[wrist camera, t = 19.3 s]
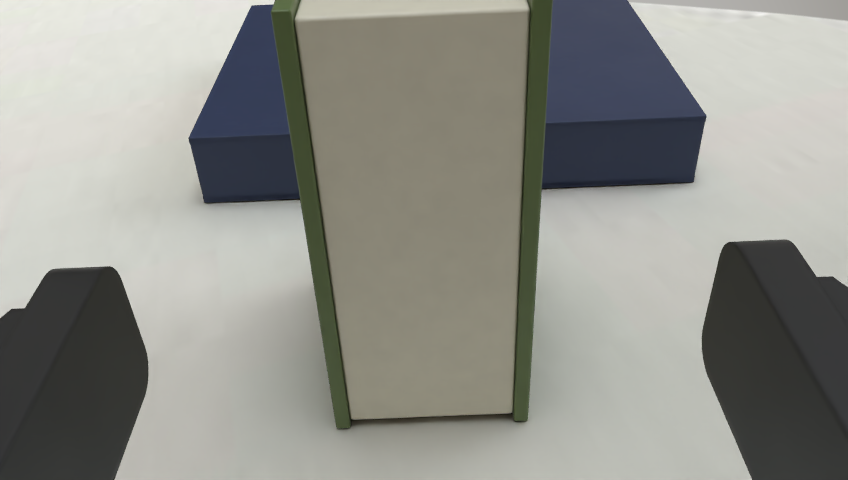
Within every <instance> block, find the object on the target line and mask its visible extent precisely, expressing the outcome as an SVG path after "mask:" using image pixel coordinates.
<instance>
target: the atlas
mask: <svg viewBox="0 0 848 480" xmlns="http://www.w3.org/2000/svg"><path fill="white" fill-rule="evenodd" d="M272 7H273V5H255V6H251V8H250V10H249V12H248V14H247V16H246V18H245V21H244V23H243V25H242V27H241V29H240V31H239V33H238V35H237V37H236V39H235V42H234V44H233V46H232V48H231V50H230V52H229V54H228V56H227V58H226V61H225V63H224V65H223V67H222V69H221V71H220V73H219V75H218V77H217V79H216V82H215V84H214V86H213V88H212V90H211V92H210V94H209V96H208V98H207V100H206V103H205V105H204V107H203V109H202V111H201V113H200V115H199V117H198V119H197V121H196V124H195V126H194V128H193V130H192V132H191V134H190V136H189V142H190V145H191V149H192V153H193V157H194V161H195V165H196V169H197V173H198V177H199V181H200V186H201V190H202V194H203V199H204V202H205V203H207V202H231V201H255V200H278V199H300V195H299V188H298V182H297V176H296V170H295V163H294V157H293V151H292V144H291V138H290V132H289V125H288V119H287V113H286V106H285V100H284V94H283V87H282V81H281V75H280V69H279V62H278V56H277V50H276V43H275V37H274V31H273V24H272V18H271V10H272ZM705 121H706V114H705V113H704V112H703V110H702V109H701V107H700V106H699V104H698V103H697V101H696V100H695V98H694V97H693V96H692V94H691V93H690V91H689V90H688V88H687V87H686V85H685V84H684V82H683V81H682V79H681V78H680V77H679V75H678V74H677V72H676V71H675V69H674V68H673V66H672V65H671V63H670V62H669V61H668V59H667V58H666V56H665V55H664V53H663V52H662V50H661V49H660V47H659V46H658V44H657V43H656V42H655V40H654V39H653V37H652V36H651V34H650V33H649V31H648V30H647V28H646V27H645V26H644V24H643V23H642V21H641V20H640V18H639V17H638V15H637V14H636V12H635V11H634V9H633V8H632V7H631V5H630V4H629V2H628V1H627V0H553V7H552V24H551V40H550V57H549V74H548V90H547V107H546V124H545V140H544V157H543V174H542V188H561V187H585V186H608V185H632V184H656V183H679V182H694V177H695V176H694V175H695V170H696V165H697V160H698V154H699V149H700V144H701V139H702V134H703V129H704V124H705Z"/></svg>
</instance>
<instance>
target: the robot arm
mask: <svg viewBox="0 0 848 480" xmlns="http://www.w3.org/2000/svg"><path fill="white" fill-rule="evenodd" d="M702 353H703V360H704V365H705V369H706V372H707V375H708V377H709V380H710V382H711V384H712V387H713V389H714V391H715V394H716V396H717V398H718V401H719V403H720V405H721V408H722V410H723V412H724V415H725V417H726V419H727V422H728V424H729V426H730V429H731V431H732V433H733V436H734V438H735V440H736V443H737V445H738V447H739V450H740V452H741V454H742V457H743V459H744V461H745V464H746V466H747V468H748V471H749V473H750V475H751V478H752V480H848V287H846V286H845V285H844V284H842V283H841V282H839V281H838V280H837V279H835V278H834V277H816V275H815V274H814V272H813V271H812V269H811V268H810V267H809V265H808V264H807V262H806V261H805V259H804V258H803V256H802V255H801V253H800V252H799V250H798V249H797V247H796V246H795V245H794V244H793V243H792V242H791V241H789V240H765V241H741V242H728V243H727V244H725V245H724V247H723V249H722V251H721V253H720V257H719V261H718V265H717V270H716V274H715V278H714V283H713V287H712V291H711V295H710V300H709V304H708V308H707V313H706V317H705V321H704V326H703V331H702ZM147 384H148V358H147V353H146V349H145V346H144V343H143V340H142V337H141V334H140V331H139V329H138V326H137V323H136V320H135V317H134V314H133V311H132V308H131V306H130V303H129V300H128V297H127V294H126V291H125V288H124V286H123V283H122V280H121V278H120V275H119V274H118V272H117V271H116V270H115V269H114V268H113V267H110V266H109V267H86V268H62V269H52V270H50V271H49V272H48V273H47V274H46V275H45V276H44V278H43V279H42V281H41V283H40V284H39V286H38V288H37V289H36V291H35V293H34V294H33V296H32V298H31V299H30V301H29V303H28V304H27V306H26V307H25V308H24V309H11V310H10V311H9V312H7V313H6V314H5V315H4V316H3V317H1V318H0V480H114V479H115V476H116V473H117V471H118V468H119V465H120V463H121V460H122V457H123V454H124V452H125V449H126V446H127V443H128V441H129V438H130V435H131V433H132V430H133V427H134V424H135V422H136V419H137V416H138V413H139V411H140V408H141V405H142V402H143V400H144V397H145V394H146V389H147Z"/></svg>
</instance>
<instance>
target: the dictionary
mask: <svg viewBox="0 0 848 480" xmlns="http://www.w3.org/2000/svg"><path fill="white" fill-rule="evenodd" d="M552 7H553V0H275V2H274V5H273V7H272V10H271V18H272V24H273V31H274V37H275V43H276V50H277V56H278V62H279V69H280V75H281V81H282V87H283V94H284V100H285V106H286V113H287V119H288V125H289V132H290V138H291V144H292V151H293V157H294V163H295V170H296V176H297V182H298V188H299V195H300V201H301V207H302V214H303V220H304V226H305V233H306V239H307V245H308V252H309V258H310V264H311V271H312V277H313V283H314V289H315V296H316V302H317V308H318V315H319V321H320V327H321V334H322V340H323V346H324V353H325V359H326V365H327V372H328V378H329V384H330V390H331V397H332V403H333V409H334V416H335V422H336V427H337V428H350V425H351V419H353V420H357V419H381V418H406V417H430V416H455V415H479V414H504V413H512V412H513V419H514V421H527V420H528V408H529V391H530V374H531V358H532V341H533V324H534V307H535V291H536V274H537V257H538V241H539V224H540V207H541V191H542V174H543V157H544V140H545V124H546V107H547V90H548V74H549V57H550V40H551V24H552Z"/></svg>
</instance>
